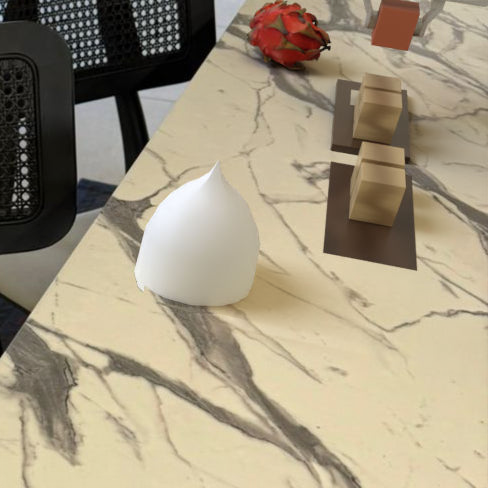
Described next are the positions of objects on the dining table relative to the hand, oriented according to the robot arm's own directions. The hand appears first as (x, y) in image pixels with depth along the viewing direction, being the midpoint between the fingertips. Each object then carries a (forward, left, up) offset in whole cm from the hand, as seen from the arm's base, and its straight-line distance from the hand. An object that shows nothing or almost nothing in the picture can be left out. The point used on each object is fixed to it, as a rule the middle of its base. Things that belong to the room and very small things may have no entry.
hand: (392, 31), depth 125 cm
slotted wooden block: (0, +5, -9) cm, 11 cm away
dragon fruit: (+12, -11, -10) cm, 19 cm away
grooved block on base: (0, +32, -9) cm, 33 cm away
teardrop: (+16, +52, -10) cm, 55 cm away
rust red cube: (0, 0, -1) cm, 1 cm away
